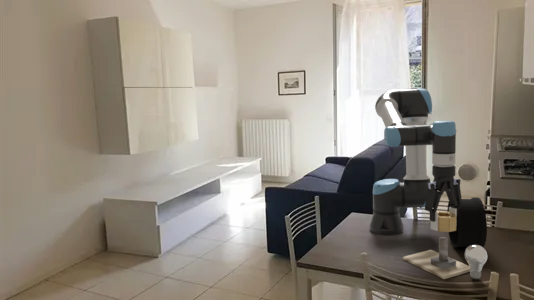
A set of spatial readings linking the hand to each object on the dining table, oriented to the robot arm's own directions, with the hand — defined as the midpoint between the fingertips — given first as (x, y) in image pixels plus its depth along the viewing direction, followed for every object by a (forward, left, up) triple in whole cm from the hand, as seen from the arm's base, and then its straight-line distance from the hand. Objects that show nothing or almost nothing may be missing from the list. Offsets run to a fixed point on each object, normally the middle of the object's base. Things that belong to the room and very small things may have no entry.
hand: (443, 227), depth 151 cm
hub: (0, 0, 0) cm, 0 cm away
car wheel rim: (-11, +23, -15) cm, 30 cm away
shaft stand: (-3, 0, -15) cm, 16 cm away
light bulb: (+12, +2, -15) cm, 20 cm away
